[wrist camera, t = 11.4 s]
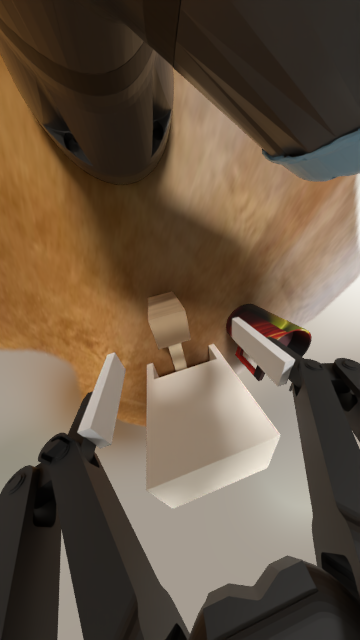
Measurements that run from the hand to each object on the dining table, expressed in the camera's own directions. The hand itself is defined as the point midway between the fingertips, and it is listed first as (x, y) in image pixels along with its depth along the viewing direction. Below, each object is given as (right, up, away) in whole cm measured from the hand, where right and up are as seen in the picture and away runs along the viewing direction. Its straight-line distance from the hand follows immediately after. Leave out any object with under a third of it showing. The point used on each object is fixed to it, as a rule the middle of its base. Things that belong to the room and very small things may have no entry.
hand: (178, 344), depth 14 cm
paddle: (-1, -3, +17) cm, 17 cm away
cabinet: (+2, -12, +22) cm, 26 cm away
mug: (+17, +1, +20) cm, 27 cm away
